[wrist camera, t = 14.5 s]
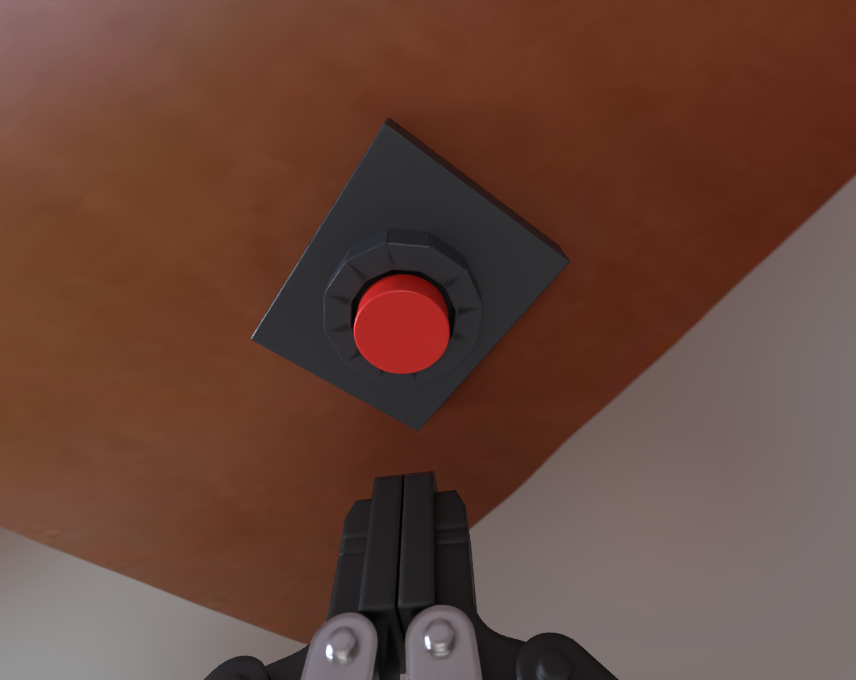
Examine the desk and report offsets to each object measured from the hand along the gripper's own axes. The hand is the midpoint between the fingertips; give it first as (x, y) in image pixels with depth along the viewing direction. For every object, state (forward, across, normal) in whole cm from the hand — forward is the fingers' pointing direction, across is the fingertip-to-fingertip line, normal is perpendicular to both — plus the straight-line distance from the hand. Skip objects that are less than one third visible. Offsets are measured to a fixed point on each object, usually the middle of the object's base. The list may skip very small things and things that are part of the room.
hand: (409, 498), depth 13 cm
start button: (+11, +1, 0) cm, 11 cm away
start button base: (+14, +1, 0) cm, 14 cm away
